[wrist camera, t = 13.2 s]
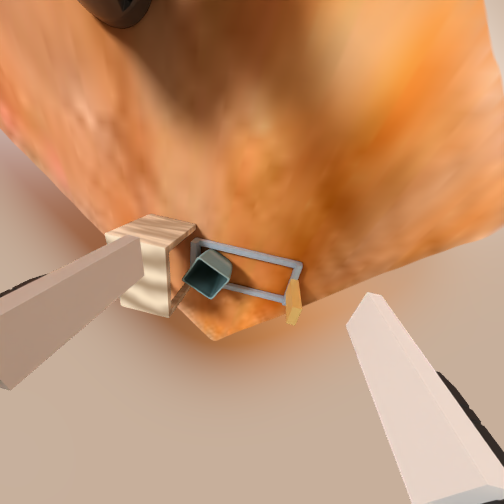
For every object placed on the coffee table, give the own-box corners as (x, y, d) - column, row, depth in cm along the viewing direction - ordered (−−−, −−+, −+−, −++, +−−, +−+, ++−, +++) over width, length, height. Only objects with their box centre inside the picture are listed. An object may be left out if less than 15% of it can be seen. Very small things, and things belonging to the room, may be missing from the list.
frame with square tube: (195, 237, 47) (170, 260, 37) (303, 262, 46) (309, 293, 35) (194, 278, 54) (172, 307, 43) (288, 301, 52) (289, 337, 42)
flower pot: (196, 261, 51) (180, 280, 43) (212, 239, 47) (197, 256, 39) (221, 279, 53) (211, 300, 45) (239, 259, 49) (230, 279, 41)
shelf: (150, 213, 46) (104, 233, 34) (195, 224, 46) (165, 248, 34) (156, 273, 55) (121, 305, 43) (194, 282, 55) (169, 318, 43)
